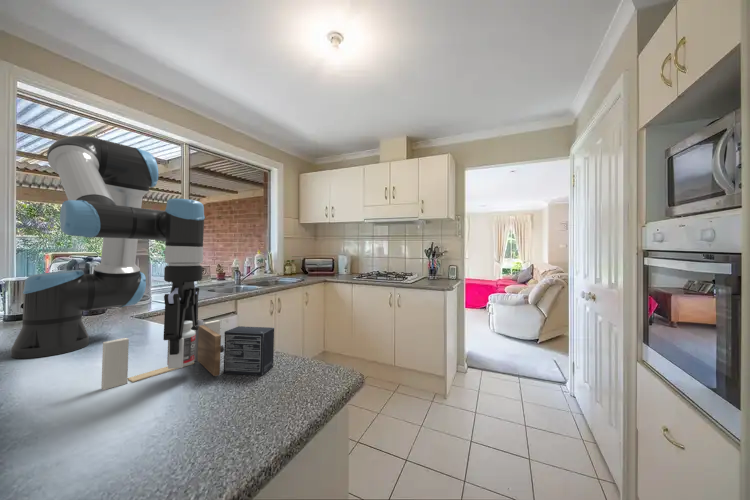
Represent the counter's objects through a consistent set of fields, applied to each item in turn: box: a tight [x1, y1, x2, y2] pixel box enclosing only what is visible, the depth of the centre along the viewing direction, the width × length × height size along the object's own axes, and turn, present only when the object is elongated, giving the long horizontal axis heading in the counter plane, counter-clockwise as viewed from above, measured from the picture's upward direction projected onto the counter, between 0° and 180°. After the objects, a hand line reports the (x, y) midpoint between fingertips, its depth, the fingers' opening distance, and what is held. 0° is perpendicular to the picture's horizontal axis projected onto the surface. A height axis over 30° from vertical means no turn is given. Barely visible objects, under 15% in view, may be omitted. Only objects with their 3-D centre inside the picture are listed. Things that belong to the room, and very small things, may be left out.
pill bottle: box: [166, 321, 196, 367], centre depth 66 cm, size 5×5×10 cm
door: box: [198, 325, 224, 377], centre depth 72 cm, size 2×14×10 cm, turn 47°
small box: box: [223, 325, 275, 376], centre depth 72 cm, size 11×6×10 cm, turn 84°
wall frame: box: [100, 319, 221, 391], centre depth 71 cm, size 3×25×11 cm, turn 149°
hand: (181, 362), depth 66 cm, fingers closed on pill bottle, 5 cm apart
